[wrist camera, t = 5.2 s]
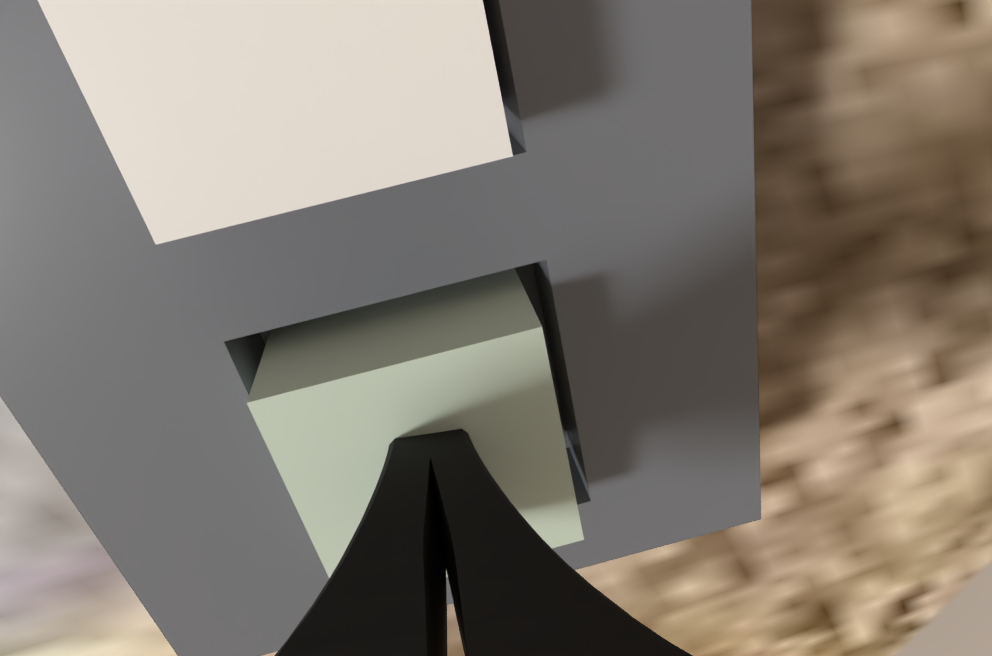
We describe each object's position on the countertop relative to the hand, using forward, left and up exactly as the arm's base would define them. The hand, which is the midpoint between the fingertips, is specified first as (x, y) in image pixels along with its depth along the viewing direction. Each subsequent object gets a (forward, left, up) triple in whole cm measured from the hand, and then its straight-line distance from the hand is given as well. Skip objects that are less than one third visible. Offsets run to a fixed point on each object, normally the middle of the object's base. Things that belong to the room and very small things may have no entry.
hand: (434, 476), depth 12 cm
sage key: (0, 0, -4) cm, 4 cm away
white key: (0, +8, -3) cm, 9 cm away
